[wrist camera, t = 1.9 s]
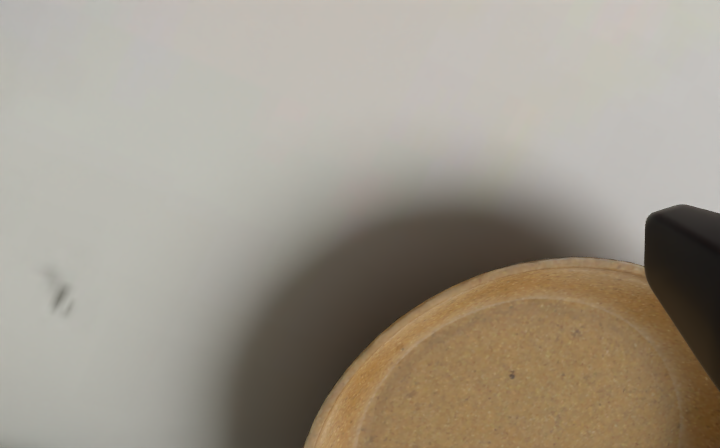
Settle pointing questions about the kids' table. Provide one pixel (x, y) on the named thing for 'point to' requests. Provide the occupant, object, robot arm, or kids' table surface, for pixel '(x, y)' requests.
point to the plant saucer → (527, 368)
